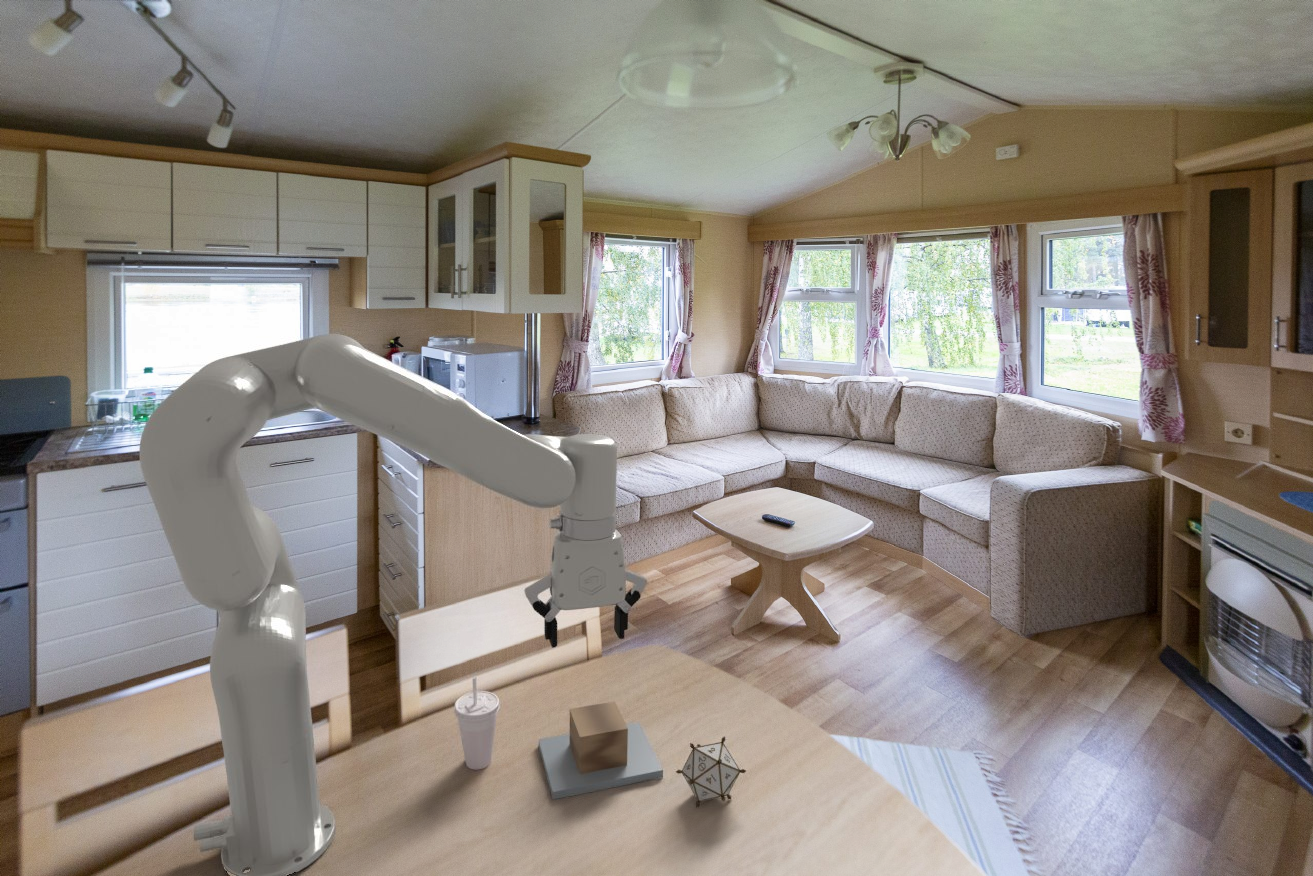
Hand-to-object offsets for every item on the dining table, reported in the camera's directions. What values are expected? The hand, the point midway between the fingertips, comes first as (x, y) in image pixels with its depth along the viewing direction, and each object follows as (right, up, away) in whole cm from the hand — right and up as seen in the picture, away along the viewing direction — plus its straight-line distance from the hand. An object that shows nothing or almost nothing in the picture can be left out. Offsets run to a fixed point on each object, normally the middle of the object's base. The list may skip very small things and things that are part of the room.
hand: (586, 638), depth 102 cm
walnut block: (+1, -18, +4) cm, 19 cm away
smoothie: (-16, -19, +4) cm, 26 cm away
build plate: (+1, -19, +5) cm, 20 cm away
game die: (+17, -22, -2) cm, 28 cm away
